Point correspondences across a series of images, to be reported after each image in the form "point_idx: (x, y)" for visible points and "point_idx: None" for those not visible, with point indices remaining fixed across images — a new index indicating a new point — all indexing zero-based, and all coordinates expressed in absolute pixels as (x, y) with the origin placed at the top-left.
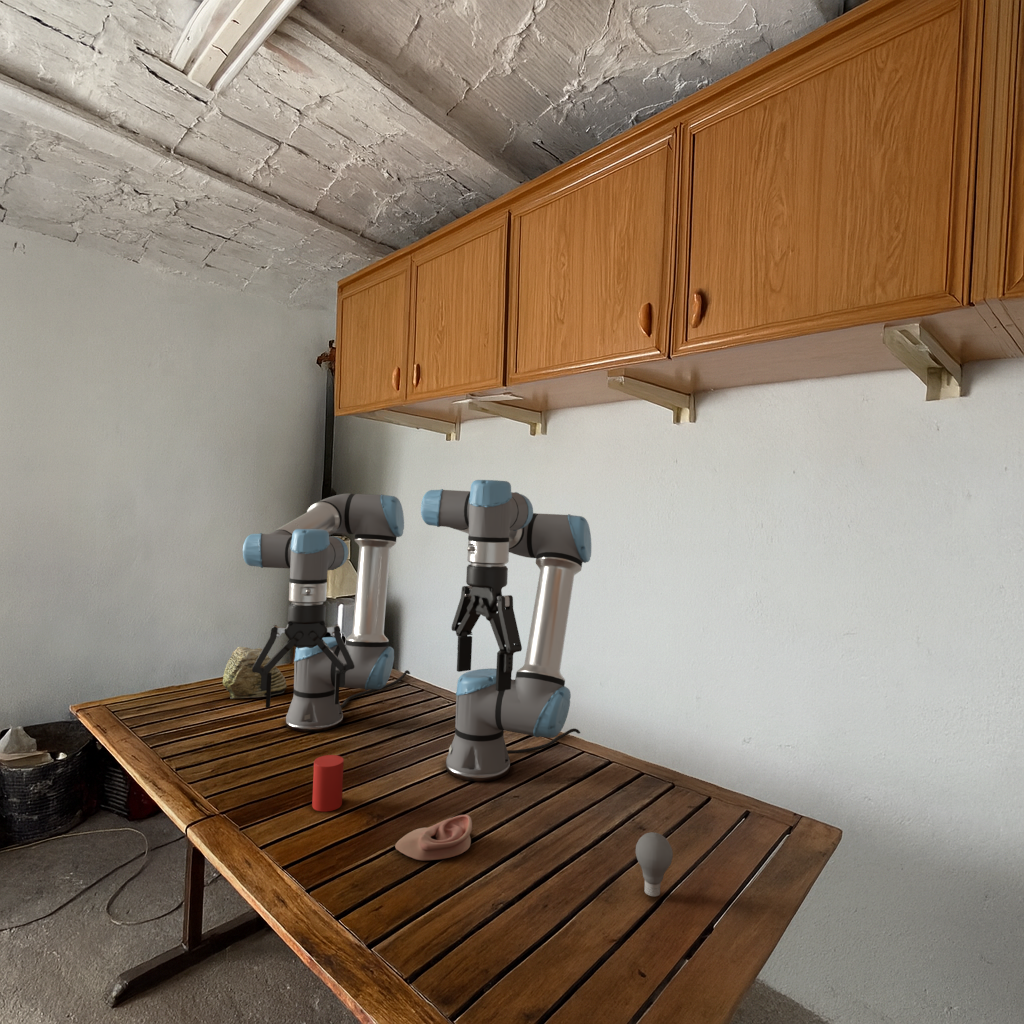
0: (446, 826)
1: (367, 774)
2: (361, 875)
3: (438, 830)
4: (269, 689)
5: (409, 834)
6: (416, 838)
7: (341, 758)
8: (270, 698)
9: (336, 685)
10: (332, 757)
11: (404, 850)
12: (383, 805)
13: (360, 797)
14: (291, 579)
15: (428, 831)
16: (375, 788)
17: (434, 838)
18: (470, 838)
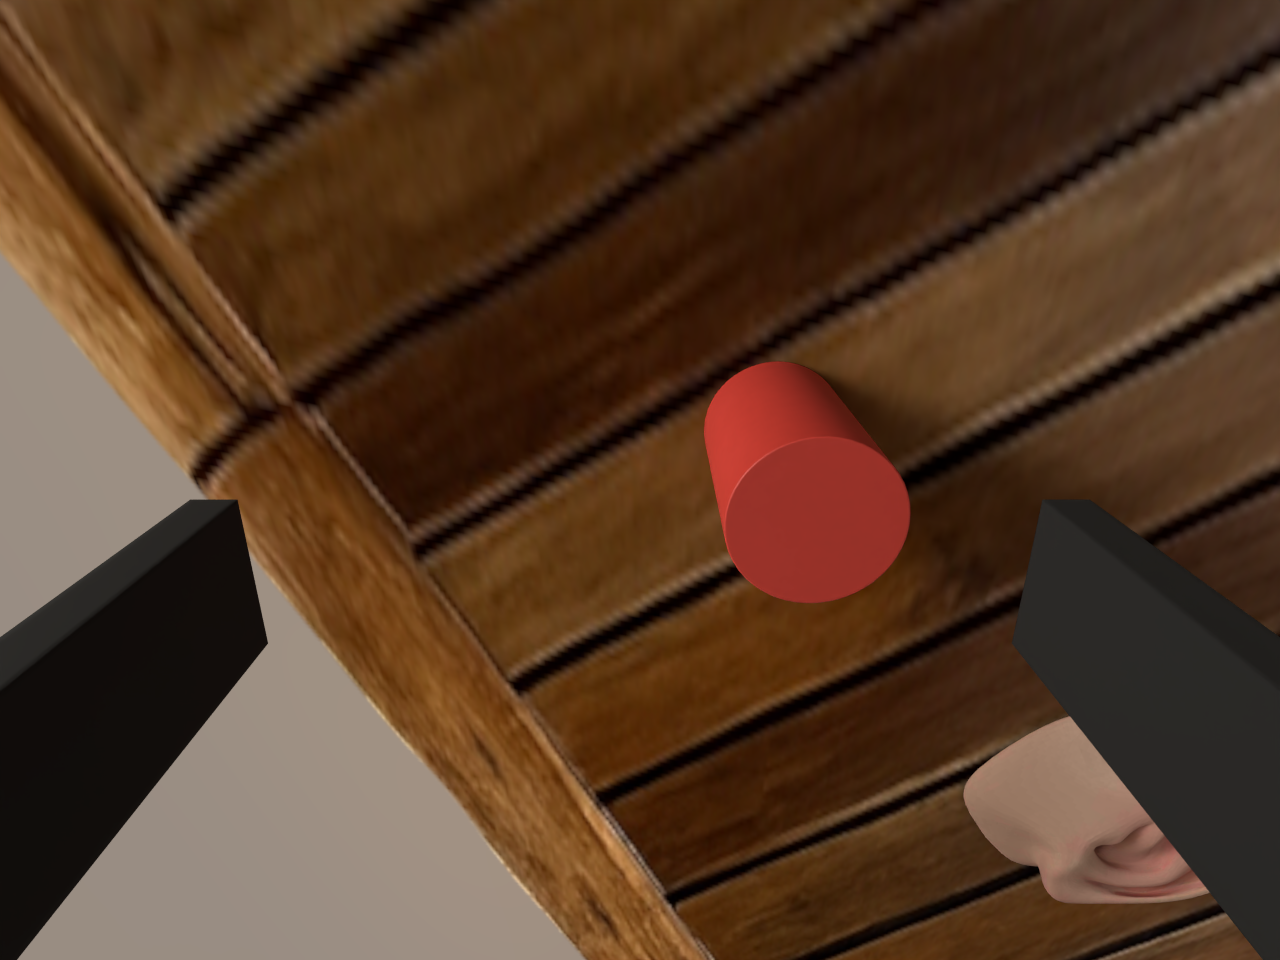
0: None
1: (1054, 95)
2: (824, 873)
3: (1139, 827)
4: (122, 807)
5: (1034, 776)
6: (1044, 839)
7: (899, 507)
8: (201, 536)
9: (1168, 826)
10: (846, 480)
11: (985, 826)
12: (1021, 489)
13: (940, 388)
14: None
15: (1100, 839)
16: (1041, 303)
17: None
18: None
